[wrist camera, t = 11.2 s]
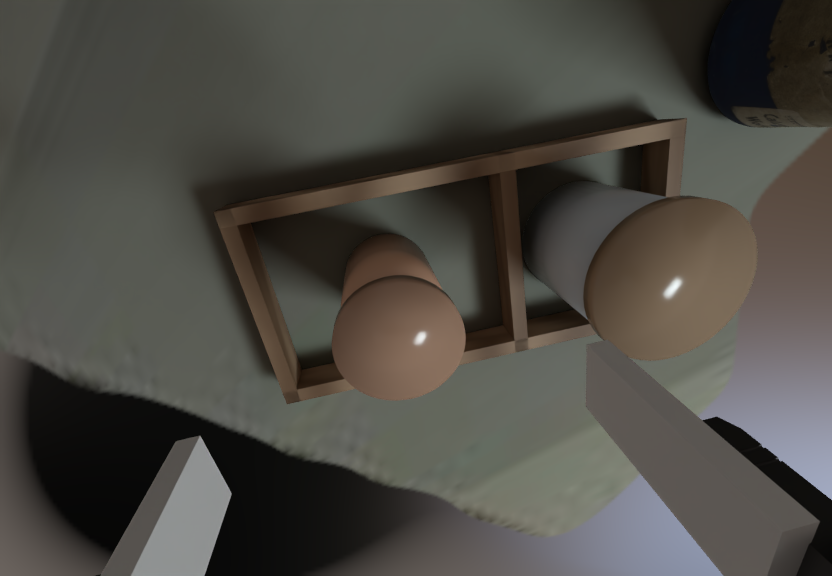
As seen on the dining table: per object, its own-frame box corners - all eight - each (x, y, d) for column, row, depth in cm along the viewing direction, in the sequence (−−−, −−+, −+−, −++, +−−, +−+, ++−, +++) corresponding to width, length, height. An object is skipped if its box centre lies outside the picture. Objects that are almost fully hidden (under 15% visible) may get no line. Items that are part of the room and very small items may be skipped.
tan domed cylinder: (354, 323, 29) (350, 412, 19) (332, 241, 26) (315, 299, 17) (437, 305, 29) (472, 384, 20) (423, 222, 27) (456, 269, 17)
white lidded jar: (522, 301, 30) (593, 375, 21) (513, 189, 26) (594, 219, 17) (627, 277, 30) (742, 341, 21) (632, 165, 27) (771, 182, 18)
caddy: (292, 383, 30) (287, 404, 28) (227, 204, 24) (213, 212, 22) (646, 304, 31) (668, 317, 29) (658, 119, 26) (686, 118, 24)
